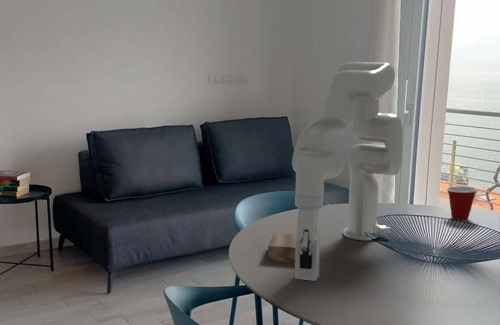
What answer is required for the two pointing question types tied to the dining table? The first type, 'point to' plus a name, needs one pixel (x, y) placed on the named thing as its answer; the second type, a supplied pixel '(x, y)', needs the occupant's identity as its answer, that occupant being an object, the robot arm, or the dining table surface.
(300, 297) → the dining table surface
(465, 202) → the plastic cup
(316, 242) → the skincare box
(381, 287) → the dining table surface
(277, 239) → the tan flat square block
